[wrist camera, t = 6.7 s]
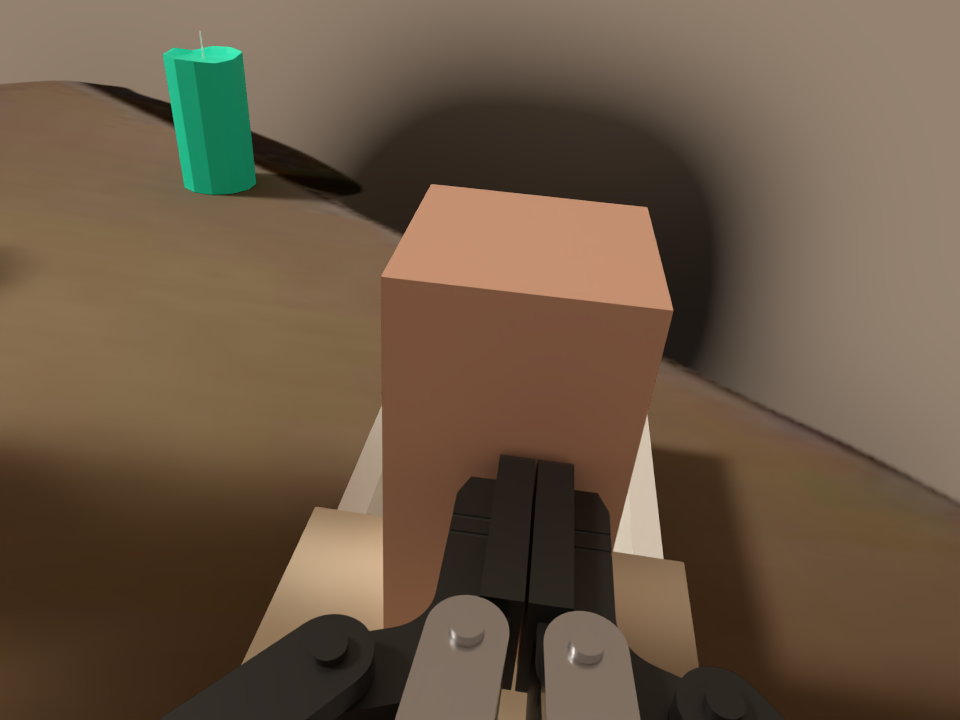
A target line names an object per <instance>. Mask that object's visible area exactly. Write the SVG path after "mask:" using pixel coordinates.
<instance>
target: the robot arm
mask: <svg viewBox="0 0 960 720" xmlns="http://www.w3.org/2000/svg"><path fill="white" fill-rule="evenodd" d="M534 471H535V459H533V458H525V457H517V456H509V455H501V454H500V459H499V465H498V472H497V479H496V480H495V479H488V478H480V477H472V476H471V477H470V478H469V479H468V481H467V482H466V483H465V484H464V485H463V486H462V488H461V489H460V490H459V491H458V492H457V495H456V500H455V505H454V509H453V515H452V519H451V523H450V528H449V533H448V537H447V542H446V547H445V551H444V556H443V561H442V565H441V570H440V575H439V579H438V584H437V589H436V593H435V596H434V599H433V601H432V603H431V604H430V606H429V607H428V608H427V610H426V611H425V612H424V613H423V614H422V615H420V616H419V617H417V618H416V619H415V620H413V621H411V622H409V623H406V624H404V625H401V626H396V627H392V628H385V629H379V630H372V631H369V630H368V629H367V627H366V626H365V625H364V624H363V623H361V622H360V621H359V620H357V619H355V618H353V617H350V616H347V615H342V614H328V615H323V616H319V617H316V618H313V619H311V620H309V621H307V622H306V623H304V624H302V625H301V626H299V627H298V628H296V629H295V630H293V631H292V632H290V633H289V634H287V635H286V636H284V637H283V638H281V639H280V640H278V641H277V642H275V643H274V644H272V645H271V646H269V647H268V648H266V649H265V650H263V651H261V652H260V653H258V654H257V655H255V656H254V657H252V658H251V659H249V660H248V661H246V662H245V663H243V664H242V665H240V666H239V667H237V668H236V669H234V670H233V671H231V672H230V673H228V674H227V675H225V676H224V677H222V678H221V679H219V680H218V681H216V682H215V683H213V684H212V685H210V686H209V687H207V688H206V689H204V690H202V691H201V692H199V693H198V694H196V695H195V696H193V697H192V698H190V699H189V700H187V701H186V702H184V703H183V704H181V705H180V706H178V707H177V708H175V709H174V710H172V711H171V712H169V713H168V714H166V715H165V716H163V717H162V718H160V719H159V720H498V714H499V707H500V699H501V692H502V689H506V690H511V688H512V682H513V675H514V668H515V661H516V655H517V648H518V660H517V672H516V684H515V691H517V692H524V693H527V705H526V720H786V719H785V718H784V717H783V716H782V715H781V714H780V713H779V712H778V711H777V710H776V709H775V708H774V707H773V706H772V705H771V704H770V703H769V702H768V701H767V700H766V699H765V698H764V697H763V696H762V695H761V694H760V693H759V692H758V691H757V690H756V689H755V688H754V687H753V686H752V685H751V684H750V683H749V682H747V681H746V680H745V679H743V678H742V677H740V676H739V675H737V674H735V673H733V672H731V671H729V670H726V669H723V668H719V667H712V666H705V667H698V668H695V669H693V670H690V671H689V672H687V673H686V674H685V675H684V676H683V677H682V678H681V677H679V676H676V675H674V674H672V673H670V672H667V671H665V670H663V669H661V668H659V667H656V666H654V665H652V664H650V663H648V662H647V661H645V660H644V659H642V658H641V657H639V656H638V655H637V654H636V653H635V652H633V651H632V650H631V648H630V647H629V646H628V643H627V641H626V639H625V637H624V635H623V634H622V632H621V631H620V630H619V629H618V627H617V623H616V613H615V596H614V579H613V563H612V555H611V553H612V546H611V538H610V536H611V529H610V513H609V511H608V509H607V508H606V506H605V504H604V503H603V501H602V499H601V497H600V496H599V494H598V493H594V492H586V491H579V490H574V464H571V463H563V462H555V461H547V460H539V459H538V463H537V470H536V477H535V484H534ZM533 484H534V491H533ZM532 497H533V498H532ZM518 641H519V647H518Z"/></svg>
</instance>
